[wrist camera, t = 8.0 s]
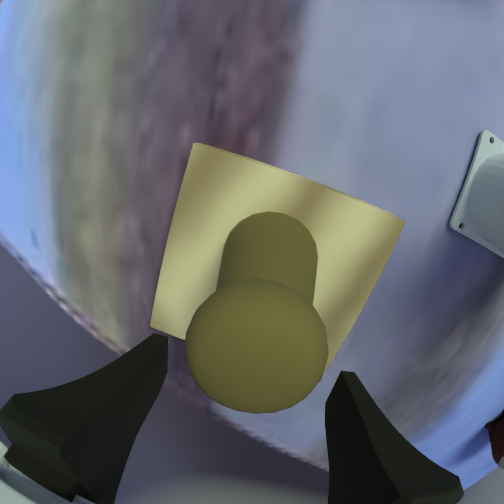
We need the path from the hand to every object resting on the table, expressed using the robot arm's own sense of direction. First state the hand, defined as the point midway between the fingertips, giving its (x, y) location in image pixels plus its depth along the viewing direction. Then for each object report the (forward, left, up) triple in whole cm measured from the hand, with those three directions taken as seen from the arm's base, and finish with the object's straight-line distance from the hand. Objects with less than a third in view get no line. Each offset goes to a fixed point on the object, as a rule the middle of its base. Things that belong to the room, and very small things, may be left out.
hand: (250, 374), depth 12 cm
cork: (0, -2, -9) cm, 9 cm away
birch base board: (0, 0, -10) cm, 10 cm away
